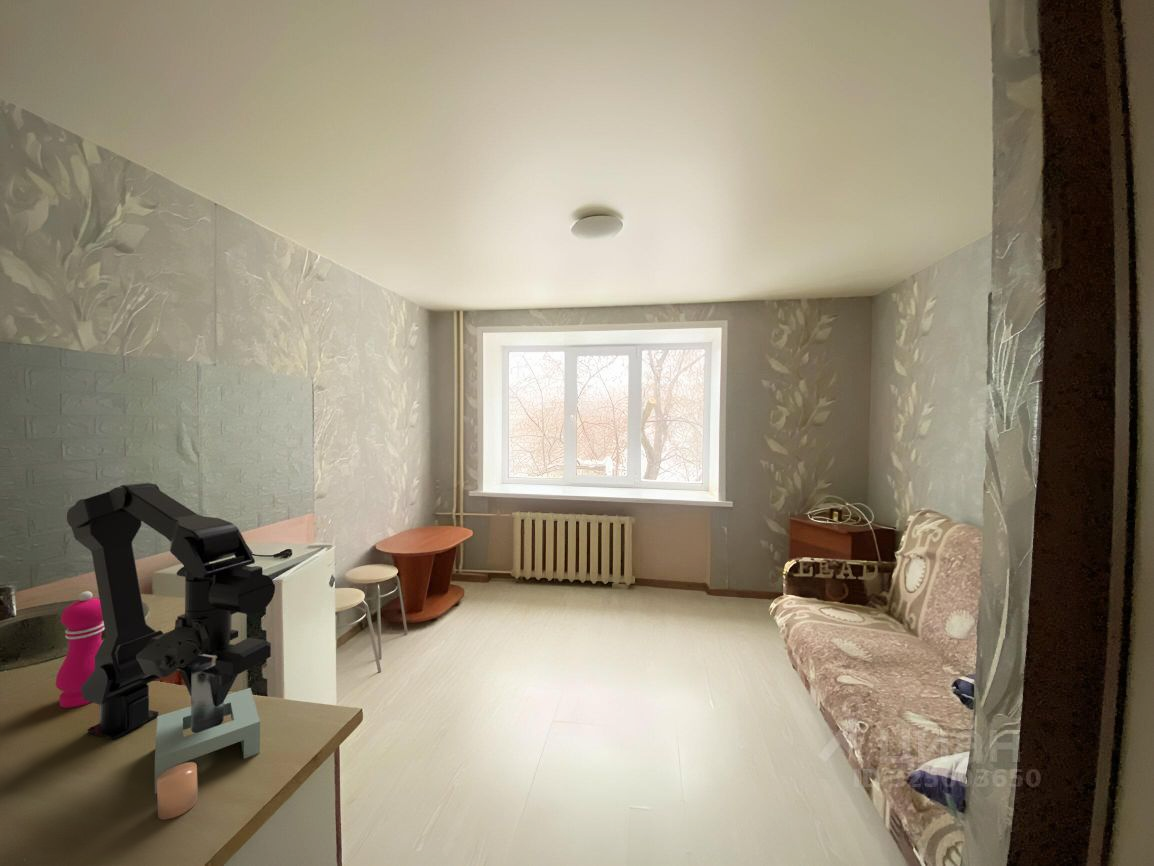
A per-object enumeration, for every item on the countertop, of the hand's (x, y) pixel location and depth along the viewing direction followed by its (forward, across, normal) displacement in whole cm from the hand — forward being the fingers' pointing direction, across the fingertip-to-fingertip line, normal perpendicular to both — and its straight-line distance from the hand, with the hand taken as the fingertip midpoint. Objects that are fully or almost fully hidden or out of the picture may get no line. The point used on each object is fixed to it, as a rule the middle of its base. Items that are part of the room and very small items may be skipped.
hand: (208, 702), depth 70 cm
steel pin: (+3, 0, 0) cm, 3 cm away
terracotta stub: (+8, +7, -9) cm, 14 cm away
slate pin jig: (+8, 0, 0) cm, 8 cm away
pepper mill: (+8, -36, +4) cm, 37 cm away
